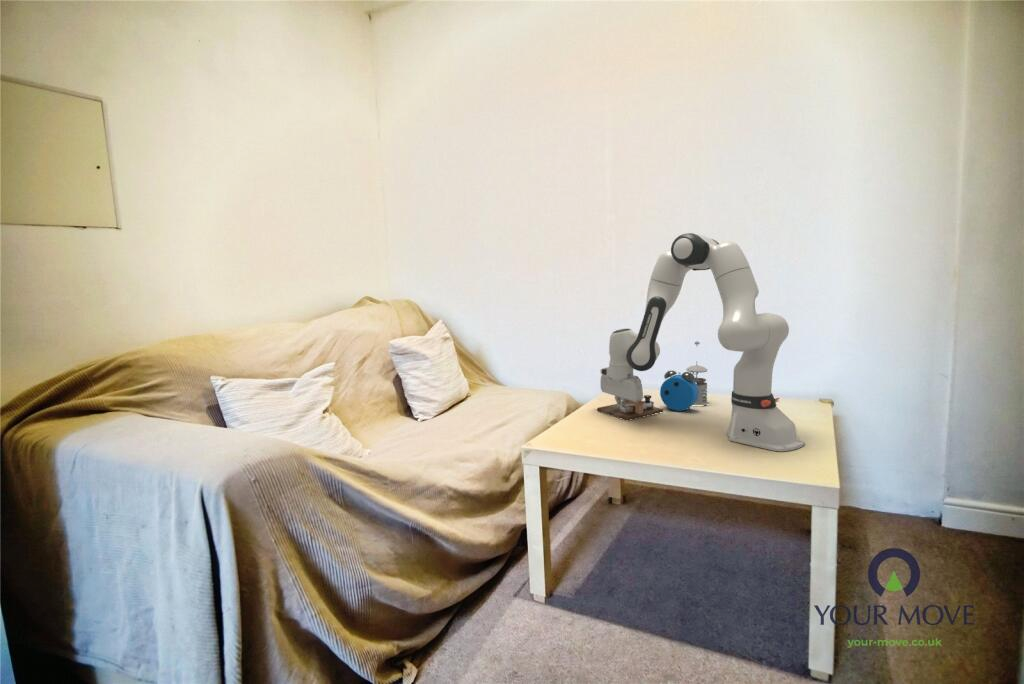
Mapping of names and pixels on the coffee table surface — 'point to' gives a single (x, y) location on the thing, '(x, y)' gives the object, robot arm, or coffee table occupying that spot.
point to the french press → (699, 383)
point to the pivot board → (616, 412)
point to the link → (631, 407)
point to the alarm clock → (679, 391)
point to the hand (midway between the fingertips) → (621, 408)
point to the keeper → (637, 406)
